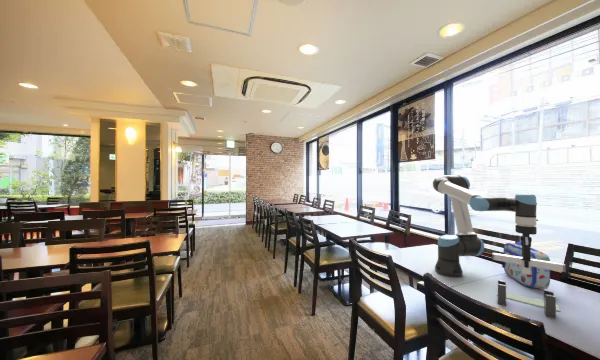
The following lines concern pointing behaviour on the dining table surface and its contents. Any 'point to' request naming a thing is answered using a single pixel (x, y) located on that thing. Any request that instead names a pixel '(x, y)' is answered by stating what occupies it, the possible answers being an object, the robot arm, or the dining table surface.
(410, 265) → the dining table surface
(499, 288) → the post left
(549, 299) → the post right
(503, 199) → the robot arm
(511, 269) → the lunch box
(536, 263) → the rail
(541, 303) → the mat
